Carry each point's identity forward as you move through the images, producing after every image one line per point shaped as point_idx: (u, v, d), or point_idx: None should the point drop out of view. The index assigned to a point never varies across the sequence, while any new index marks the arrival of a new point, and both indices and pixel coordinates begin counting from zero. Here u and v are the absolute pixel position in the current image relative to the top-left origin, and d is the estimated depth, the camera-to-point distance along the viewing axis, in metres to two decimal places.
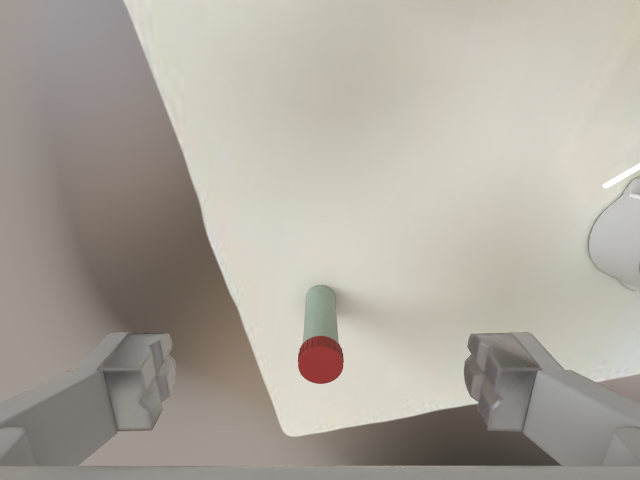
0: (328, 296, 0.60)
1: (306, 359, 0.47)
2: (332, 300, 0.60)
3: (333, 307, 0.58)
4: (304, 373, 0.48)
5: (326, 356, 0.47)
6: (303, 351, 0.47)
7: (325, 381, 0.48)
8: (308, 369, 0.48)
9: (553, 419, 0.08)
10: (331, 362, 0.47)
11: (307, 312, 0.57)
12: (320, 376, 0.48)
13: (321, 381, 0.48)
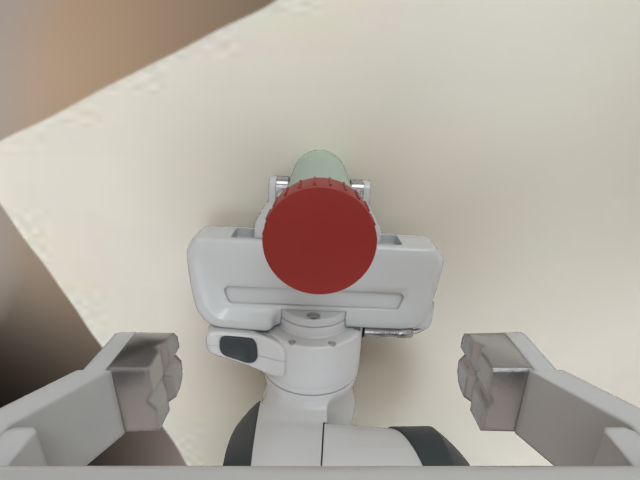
0: None
1: (332, 205, 0.18)
2: None
3: None
4: (288, 207, 0.18)
5: (349, 252, 0.19)
6: (349, 192, 0.18)
7: (273, 262, 0.19)
8: (302, 215, 0.18)
9: (545, 419, 0.08)
10: (333, 266, 0.19)
11: (333, 165, 0.28)
12: (286, 248, 0.19)
13: (270, 252, 0.19)
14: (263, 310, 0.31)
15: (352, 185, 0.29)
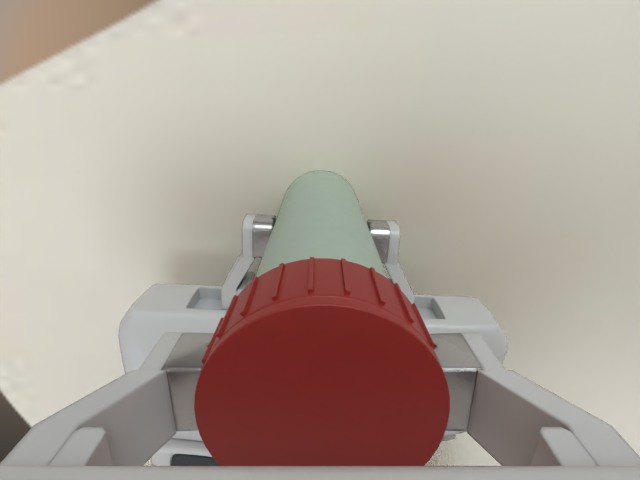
0: None
1: (353, 343, 0.08)
2: None
3: None
4: (248, 347, 0.08)
5: (386, 432, 0.09)
6: (391, 310, 0.08)
7: (221, 450, 0.09)
8: (283, 363, 0.08)
9: (493, 419, 0.08)
10: (351, 458, 0.09)
11: (343, 202, 0.17)
12: (248, 425, 0.08)
13: (214, 433, 0.09)
14: None
15: (372, 231, 0.18)
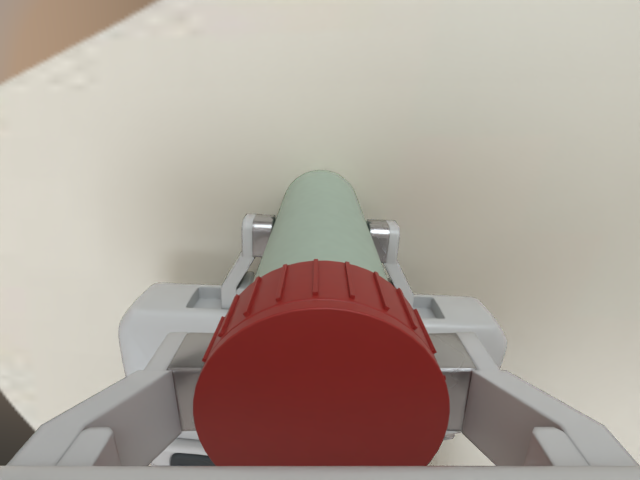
0: None
1: (240, 380, 0.08)
2: None
3: None
4: (226, 455, 0.09)
5: (360, 371, 0.08)
6: (226, 332, 0.08)
7: None
8: (249, 436, 0.08)
9: (487, 419, 0.08)
10: (384, 407, 0.08)
11: (343, 202, 0.17)
12: None
13: None
14: None
15: (371, 231, 0.19)
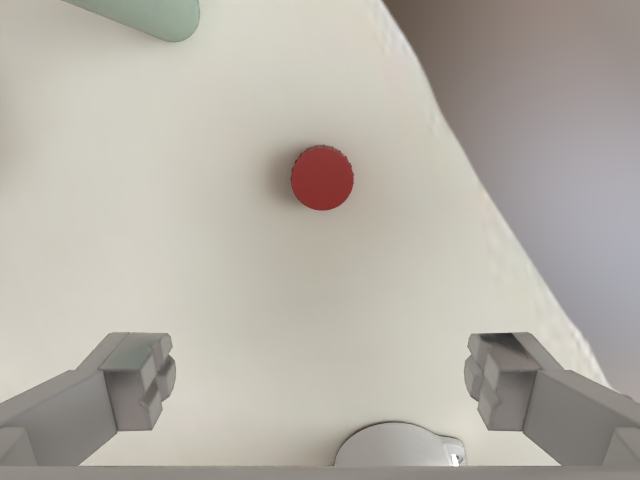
0: (155, 35, 0.29)
1: (343, 174, 0.34)
2: None
3: None
4: (329, 154, 0.33)
5: (327, 196, 0.35)
6: None
7: (298, 165, 0.34)
8: (330, 163, 0.34)
9: (553, 419, 0.08)
10: (315, 194, 0.35)
11: None
12: (309, 166, 0.34)
13: (302, 161, 0.34)
14: None
15: None
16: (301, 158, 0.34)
